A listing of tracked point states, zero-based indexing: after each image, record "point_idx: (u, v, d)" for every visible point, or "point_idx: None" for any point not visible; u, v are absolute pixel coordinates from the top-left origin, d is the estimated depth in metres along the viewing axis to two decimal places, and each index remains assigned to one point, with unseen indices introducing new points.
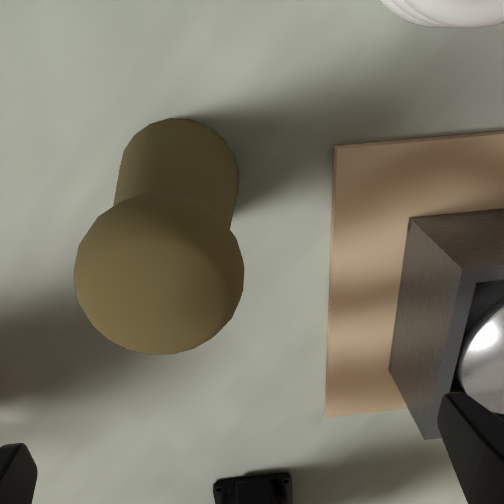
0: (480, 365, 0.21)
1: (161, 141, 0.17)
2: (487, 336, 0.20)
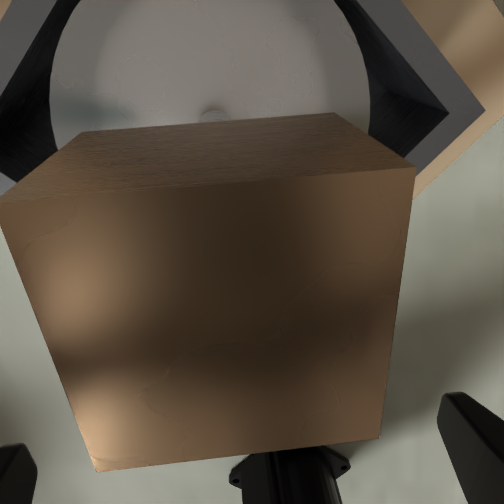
0: None
1: None
2: None
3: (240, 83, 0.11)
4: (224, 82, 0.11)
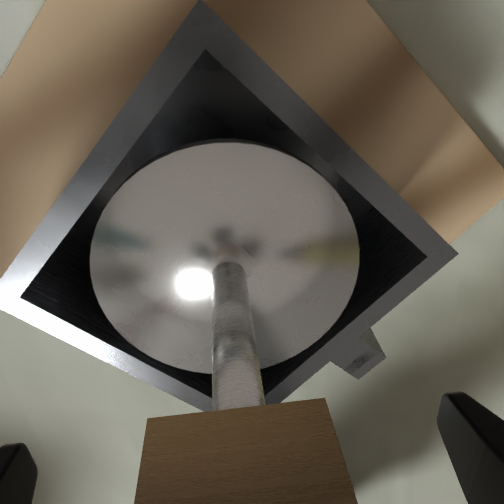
0: (171, 345, 0.15)
1: None
2: (126, 321, 0.15)
3: (249, 242, 0.14)
4: (236, 242, 0.14)
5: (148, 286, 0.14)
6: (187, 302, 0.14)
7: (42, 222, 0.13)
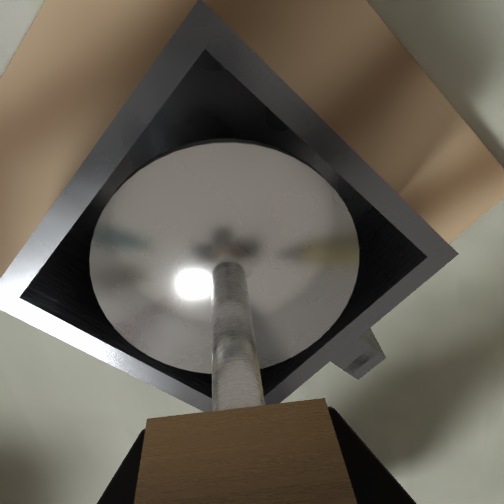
0: (171, 345, 0.15)
1: None
2: (125, 321, 0.15)
3: (249, 242, 0.14)
4: (236, 242, 0.14)
5: (148, 286, 0.14)
6: (187, 301, 0.14)
7: (42, 222, 0.13)
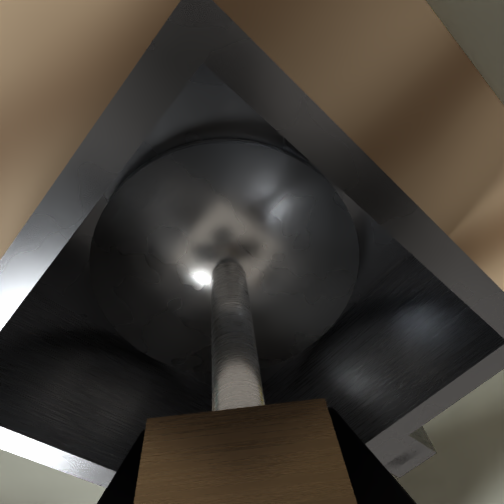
0: (171, 345, 0.15)
1: None
2: (125, 321, 0.15)
3: (249, 242, 0.14)
4: (236, 242, 0.14)
5: (148, 286, 0.14)
6: (187, 302, 0.14)
7: None
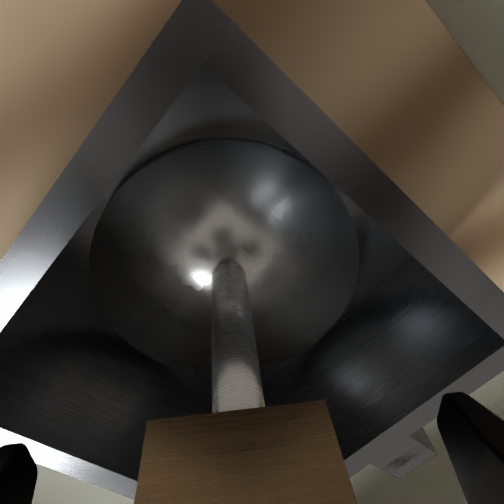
0: (171, 346, 0.15)
1: None
2: (125, 322, 0.15)
3: (249, 243, 0.14)
4: (236, 242, 0.13)
5: (148, 287, 0.14)
6: (186, 303, 0.14)
7: None
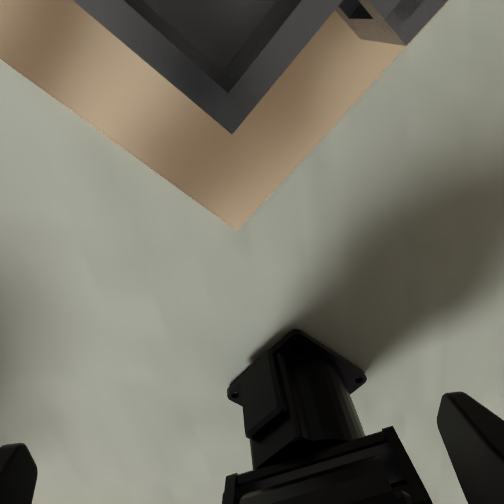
0: None
1: None
2: None
3: None
4: None
5: None
6: None
7: None
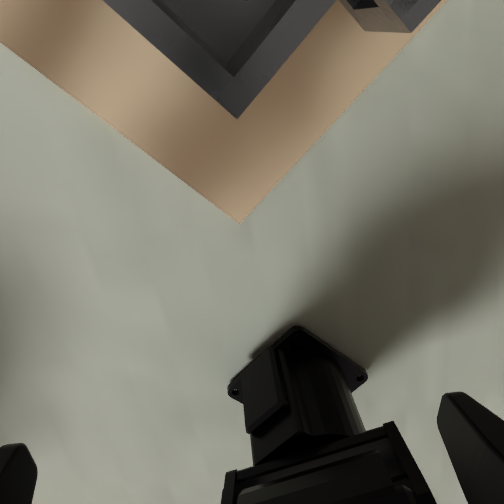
0: None
1: None
2: None
3: None
4: None
5: None
6: None
7: None
